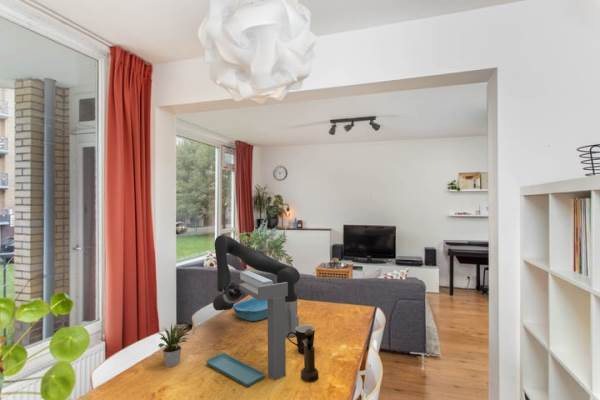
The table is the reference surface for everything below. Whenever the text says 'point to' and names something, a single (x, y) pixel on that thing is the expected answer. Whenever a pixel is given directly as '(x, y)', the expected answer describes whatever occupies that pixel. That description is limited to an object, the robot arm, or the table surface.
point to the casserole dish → (251, 309)
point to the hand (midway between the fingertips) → (243, 282)
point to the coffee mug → (302, 337)
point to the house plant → (172, 346)
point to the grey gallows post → (273, 323)
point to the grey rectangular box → (254, 279)
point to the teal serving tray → (235, 369)
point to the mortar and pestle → (309, 360)
